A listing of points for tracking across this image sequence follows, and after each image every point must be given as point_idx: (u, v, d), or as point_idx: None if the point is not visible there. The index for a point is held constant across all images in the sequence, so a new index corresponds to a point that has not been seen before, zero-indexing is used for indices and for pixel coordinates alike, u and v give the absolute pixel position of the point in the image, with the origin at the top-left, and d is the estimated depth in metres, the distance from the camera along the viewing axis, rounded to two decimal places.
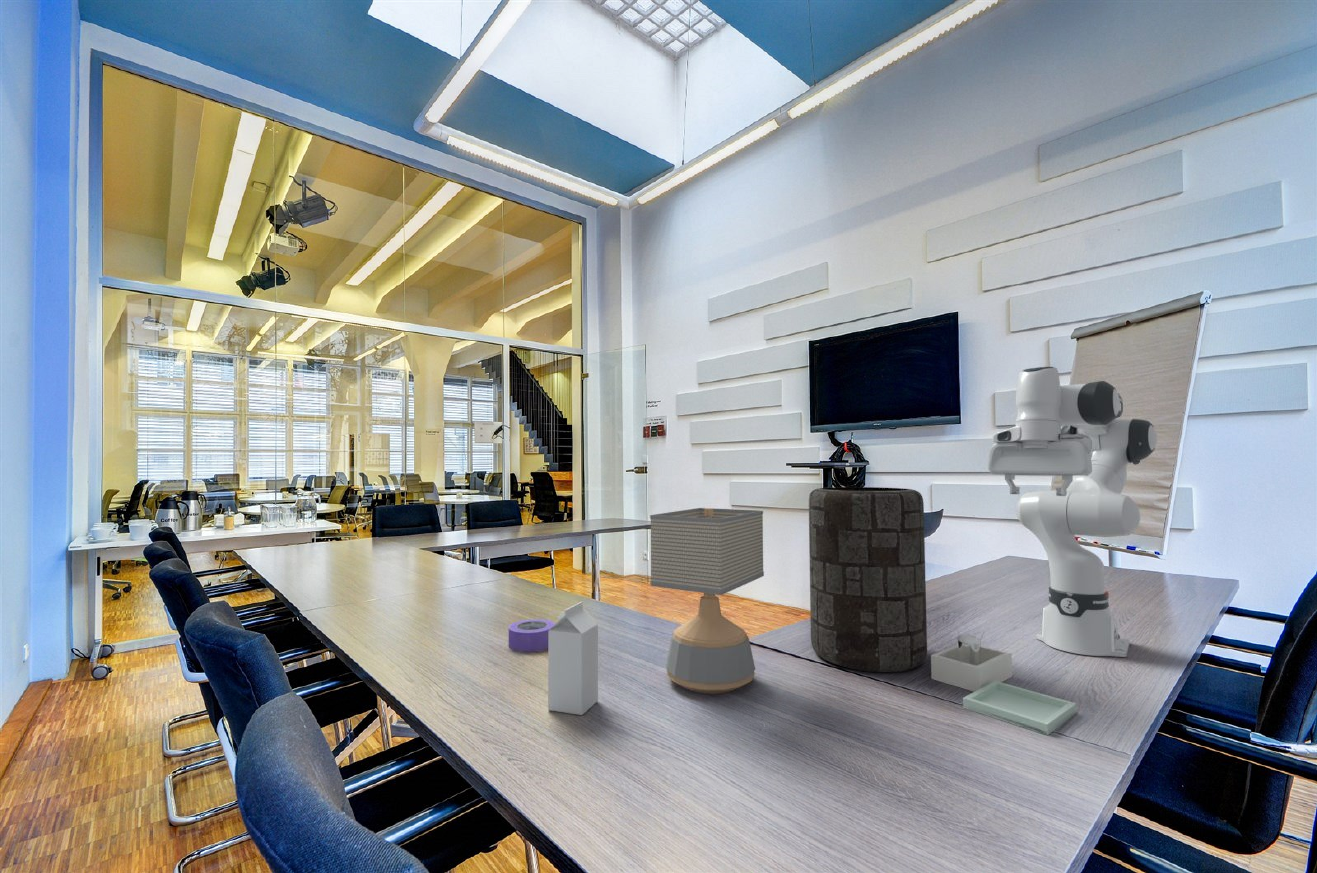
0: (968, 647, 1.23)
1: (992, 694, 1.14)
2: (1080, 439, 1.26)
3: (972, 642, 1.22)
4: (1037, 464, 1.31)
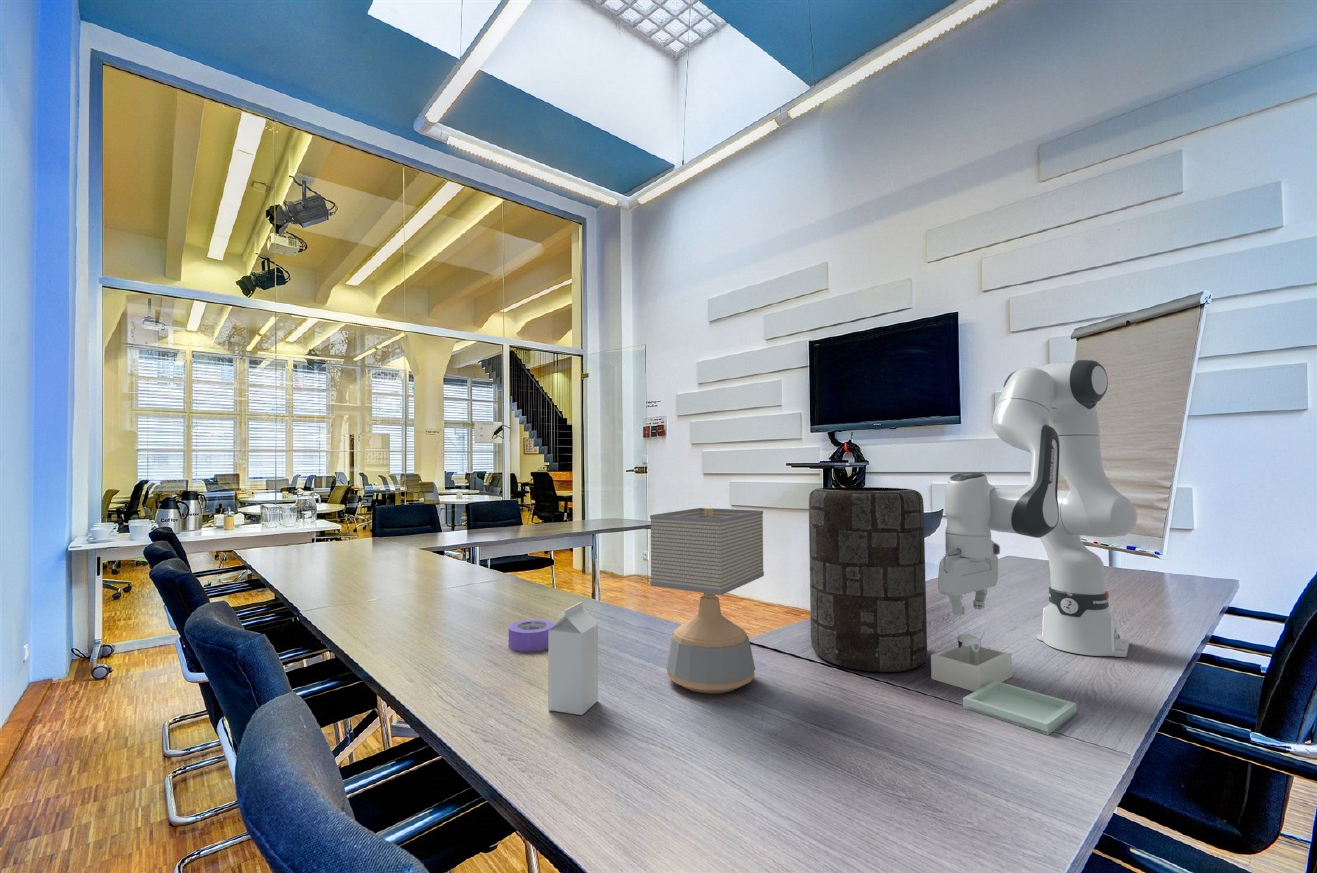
0: (968, 647, 1.23)
1: (992, 694, 1.14)
2: None
3: (972, 642, 1.22)
4: None
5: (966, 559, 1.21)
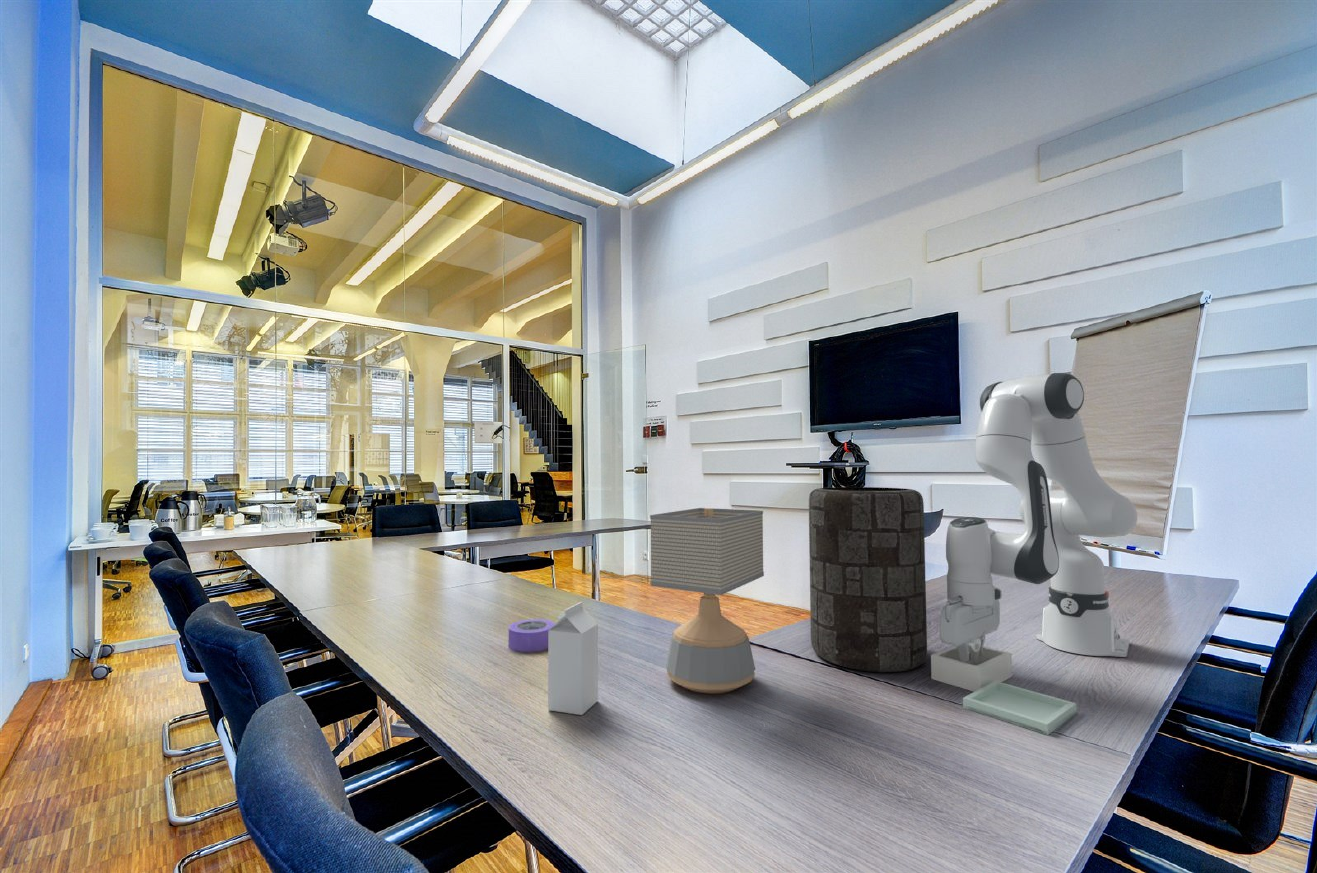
0: (968, 646, 1.23)
1: (992, 694, 1.14)
2: None
3: (972, 642, 1.23)
4: None
5: (968, 607, 1.21)
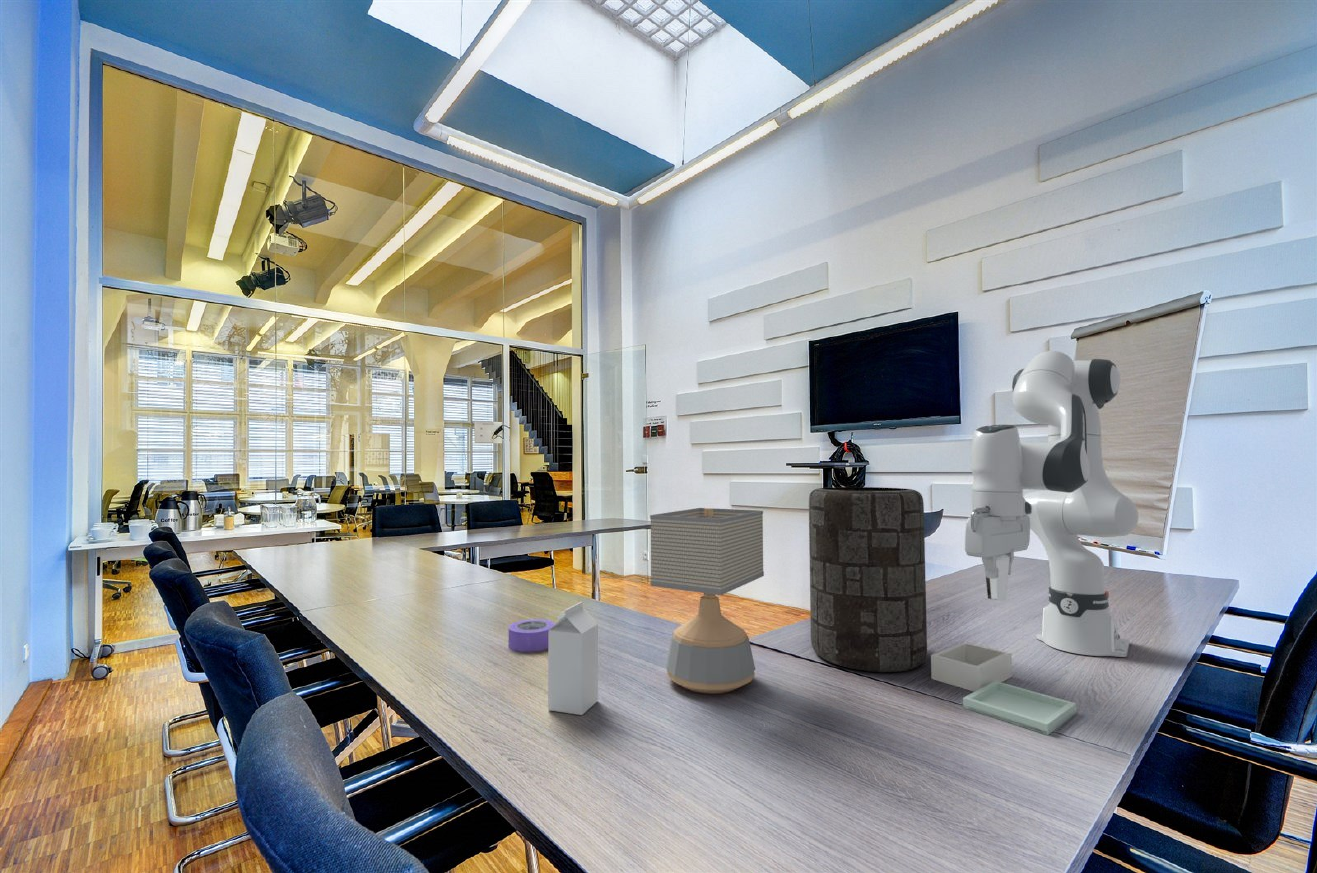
0: (996, 564, 1.12)
1: (992, 694, 1.14)
2: None
3: (1000, 558, 1.12)
4: None
5: (996, 517, 1.10)
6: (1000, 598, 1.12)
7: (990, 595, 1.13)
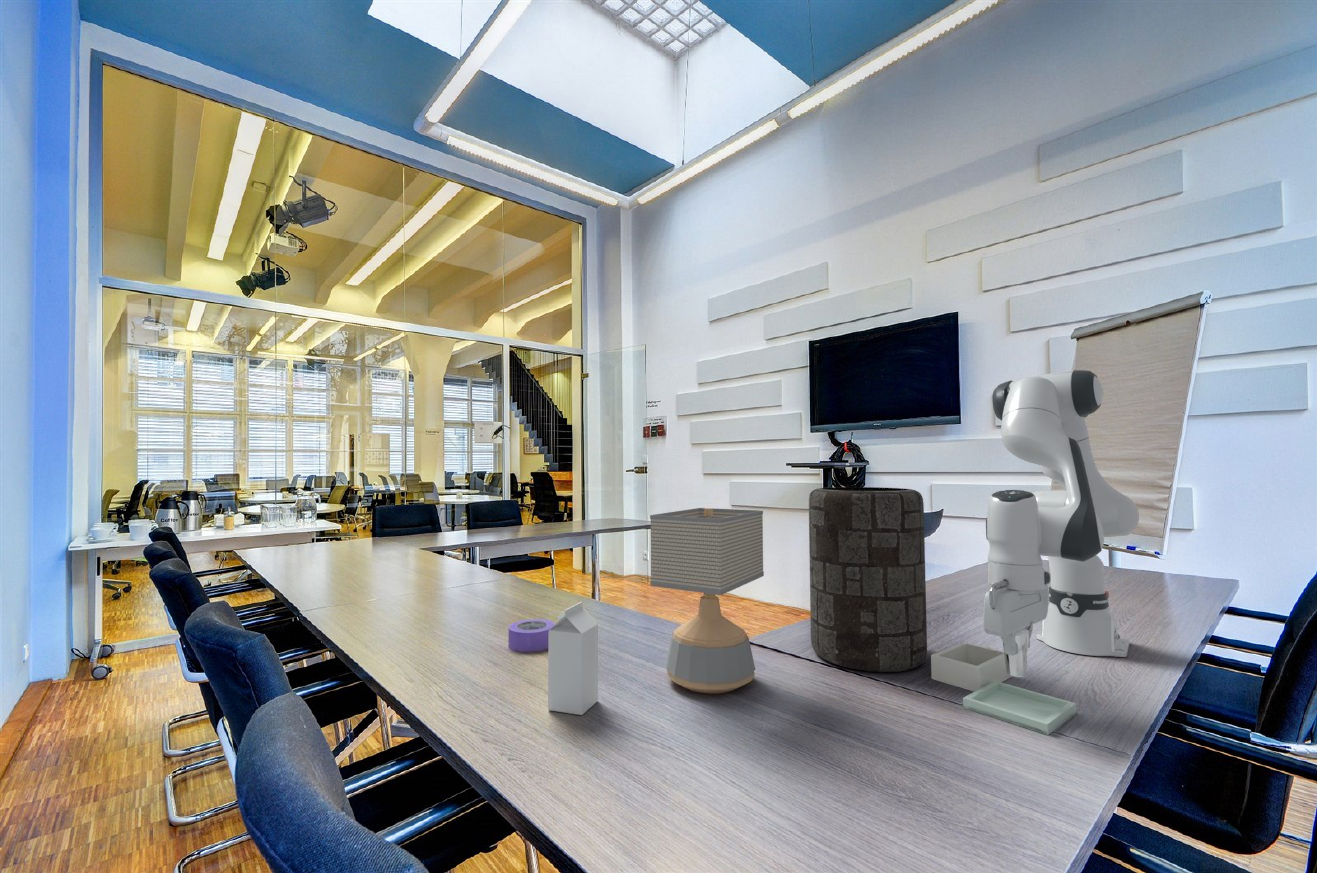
0: (1015, 639, 1.07)
1: (992, 694, 1.14)
2: None
3: (1019, 634, 1.07)
4: None
5: (1015, 592, 1.05)
6: (1020, 675, 1.07)
7: (1009, 671, 1.08)
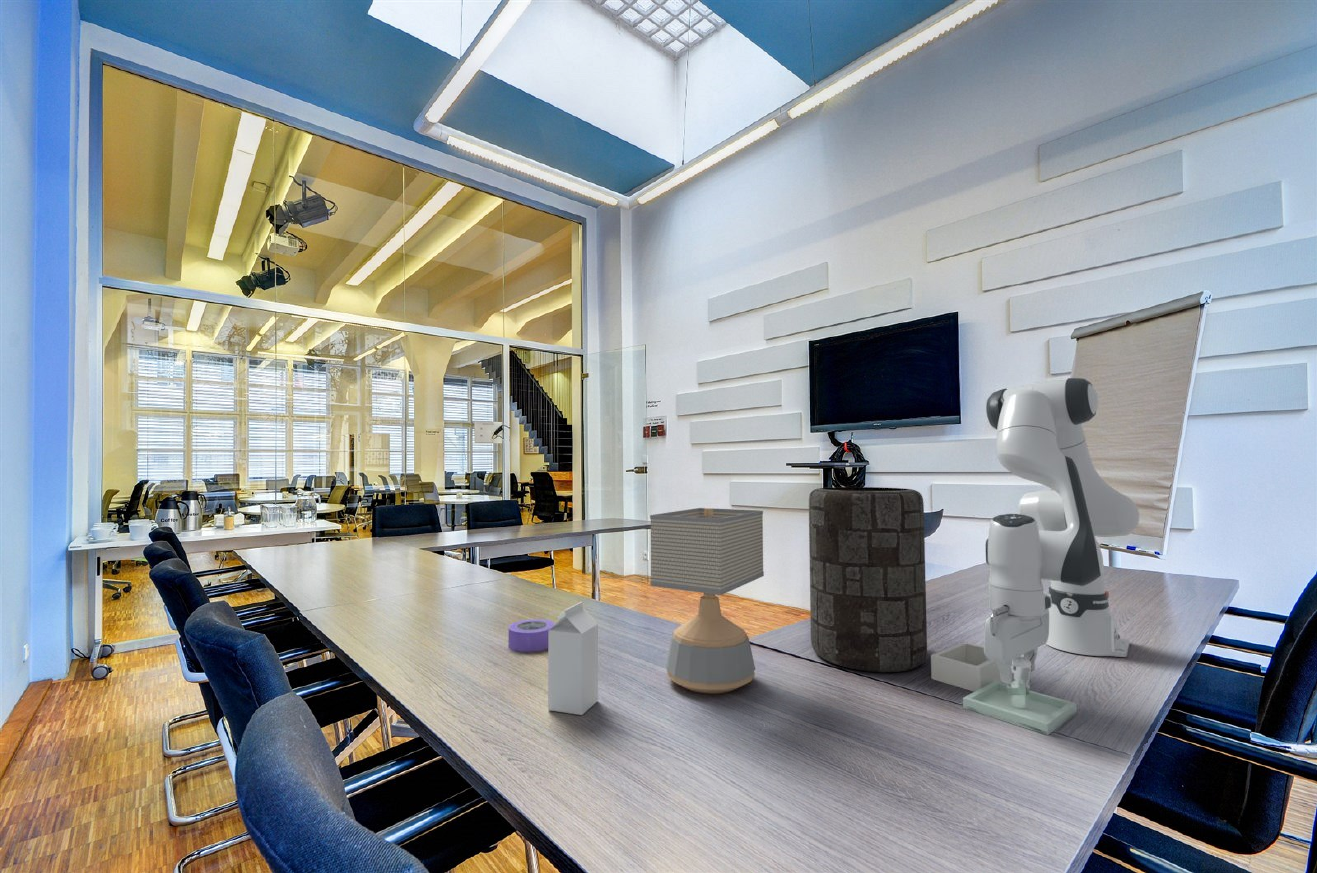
0: (1017, 671, 1.07)
1: (992, 694, 1.14)
2: None
3: (1021, 665, 1.07)
4: None
5: (1016, 618, 1.05)
6: (1022, 707, 1.07)
7: (1011, 702, 1.08)
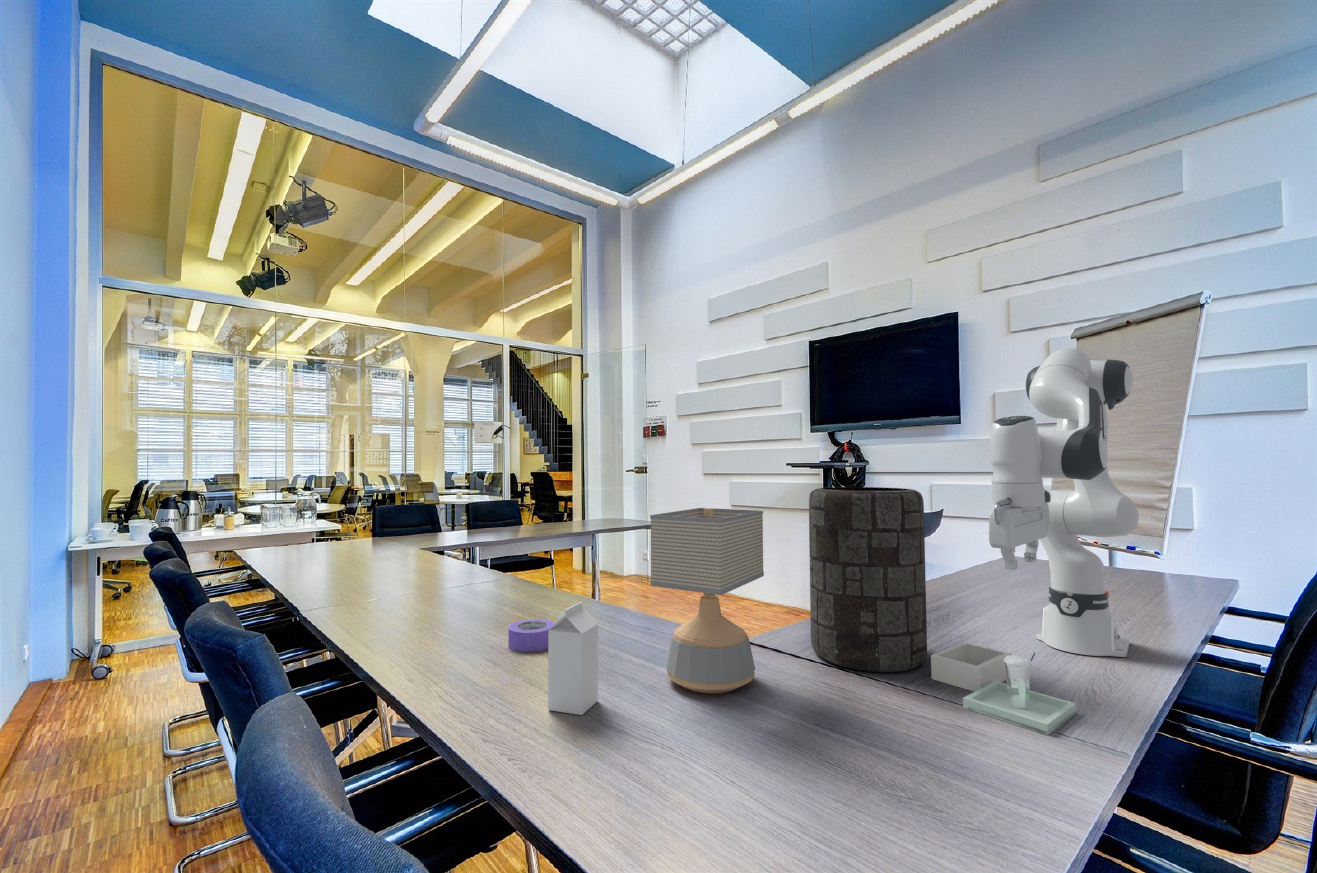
0: (1017, 671, 1.07)
1: (992, 694, 1.14)
2: None
3: (1022, 665, 1.07)
4: None
5: (1018, 509, 1.12)
6: (1022, 707, 1.07)
7: (1011, 702, 1.08)
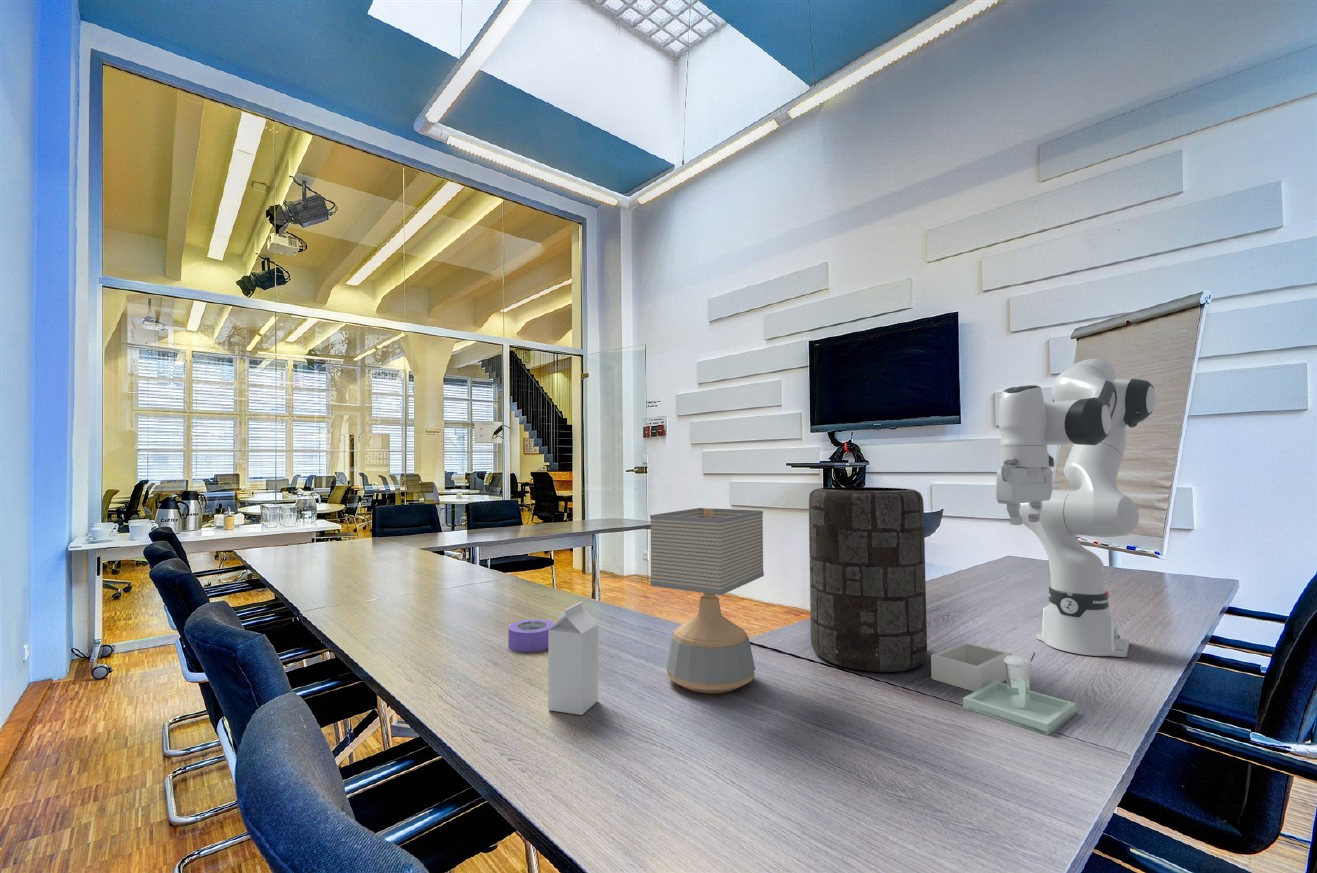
0: (1017, 671, 1.07)
1: (992, 694, 1.14)
2: None
3: (1022, 666, 1.07)
4: None
5: (1023, 469, 1.21)
6: (1022, 707, 1.07)
7: (1011, 702, 1.08)
